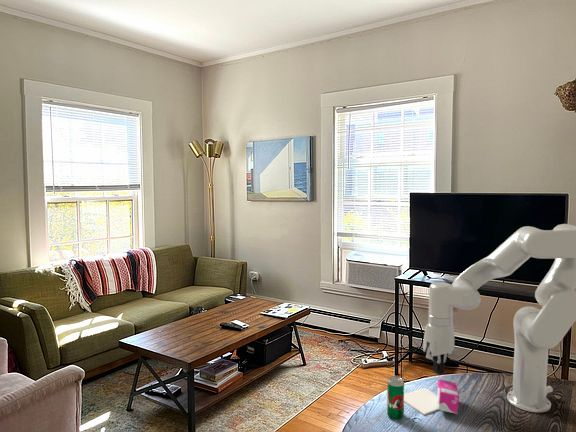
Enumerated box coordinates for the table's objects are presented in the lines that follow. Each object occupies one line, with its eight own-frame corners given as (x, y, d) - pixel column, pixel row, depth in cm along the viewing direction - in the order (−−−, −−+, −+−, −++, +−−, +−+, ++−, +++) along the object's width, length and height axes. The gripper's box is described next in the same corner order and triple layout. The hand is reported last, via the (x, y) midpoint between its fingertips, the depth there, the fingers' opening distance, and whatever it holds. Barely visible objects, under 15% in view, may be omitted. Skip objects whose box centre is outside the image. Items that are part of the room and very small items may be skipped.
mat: (424, 389, 154) (424, 387, 154) (451, 405, 144) (451, 403, 144) (397, 397, 149) (397, 396, 149) (423, 415, 138) (424, 413, 138)
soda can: (406, 415, 138) (407, 379, 137) (398, 422, 135) (398, 385, 133) (392, 409, 142) (393, 374, 140) (384, 416, 138) (384, 379, 137)
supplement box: (454, 399, 147) (457, 414, 136) (436, 395, 149) (437, 410, 138) (457, 382, 147) (459, 396, 136) (438, 378, 149) (439, 392, 138)
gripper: (448, 313, 153) (446, 363, 155) (415, 320, 146) (413, 373, 148) (465, 319, 146) (463, 372, 149) (431, 327, 140) (430, 382, 142)
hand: (438, 372), depth 149 cm, fingers closed
